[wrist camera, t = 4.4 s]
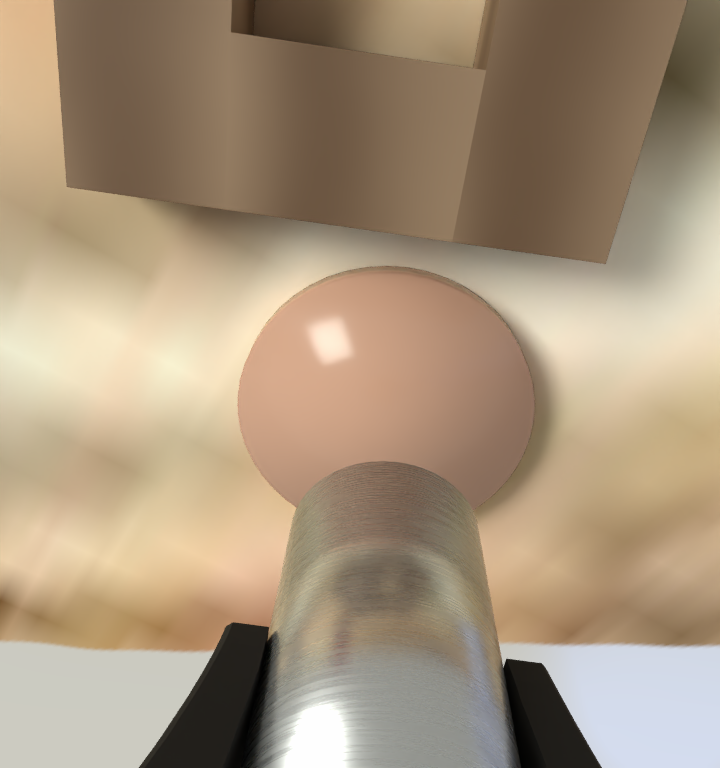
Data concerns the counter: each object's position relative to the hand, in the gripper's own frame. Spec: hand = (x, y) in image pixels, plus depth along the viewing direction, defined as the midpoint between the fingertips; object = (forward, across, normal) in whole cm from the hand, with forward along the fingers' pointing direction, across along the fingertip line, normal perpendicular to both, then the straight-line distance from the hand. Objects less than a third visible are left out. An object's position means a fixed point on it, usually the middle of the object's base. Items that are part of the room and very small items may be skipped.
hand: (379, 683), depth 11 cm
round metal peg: (+3, 0, 0) cm, 3 cm away
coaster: (+10, 0, 0) cm, 10 cm away
